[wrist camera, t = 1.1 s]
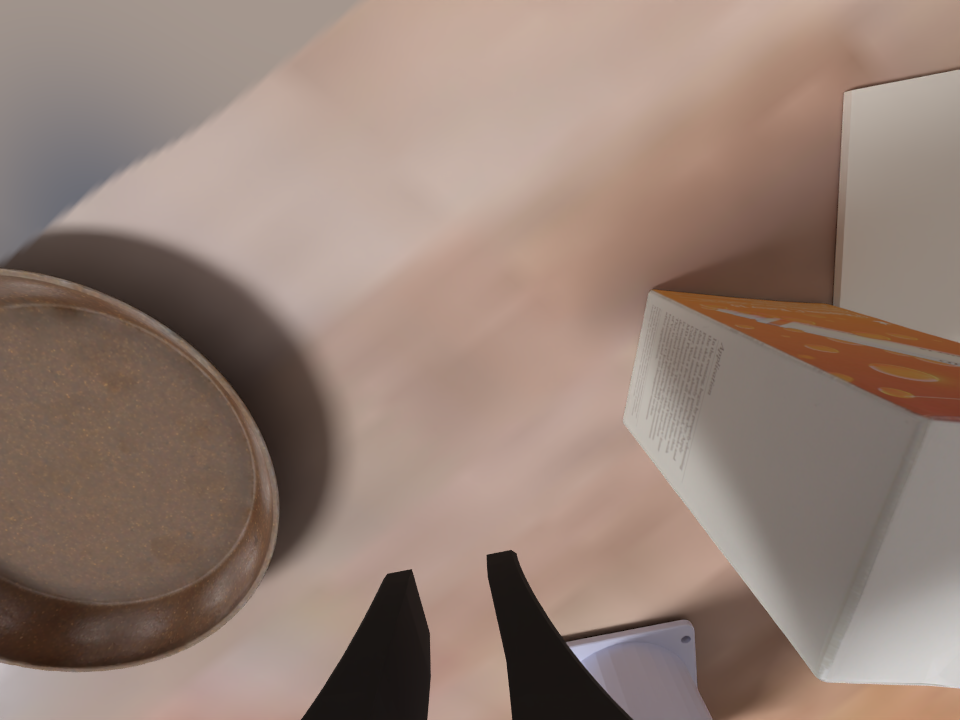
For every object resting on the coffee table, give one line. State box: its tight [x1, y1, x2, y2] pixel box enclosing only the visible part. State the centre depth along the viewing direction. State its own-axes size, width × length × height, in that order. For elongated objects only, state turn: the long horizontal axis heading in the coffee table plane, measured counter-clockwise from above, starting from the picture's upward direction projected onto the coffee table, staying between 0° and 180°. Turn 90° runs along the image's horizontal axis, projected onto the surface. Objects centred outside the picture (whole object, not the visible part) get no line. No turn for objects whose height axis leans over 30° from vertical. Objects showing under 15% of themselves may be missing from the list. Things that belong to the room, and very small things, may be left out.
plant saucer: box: [0, 268, 279, 672], centre depth 21 cm, size 18×18×3 cm
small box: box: [623, 289, 960, 688], centre depth 16 cm, size 8×6×13 cm
